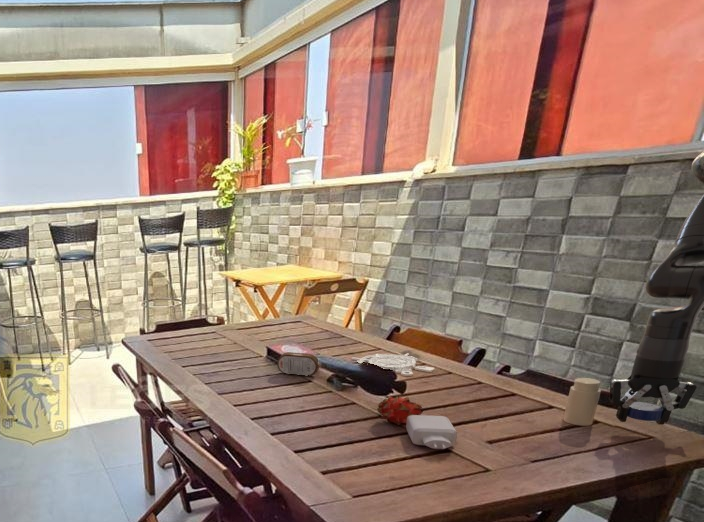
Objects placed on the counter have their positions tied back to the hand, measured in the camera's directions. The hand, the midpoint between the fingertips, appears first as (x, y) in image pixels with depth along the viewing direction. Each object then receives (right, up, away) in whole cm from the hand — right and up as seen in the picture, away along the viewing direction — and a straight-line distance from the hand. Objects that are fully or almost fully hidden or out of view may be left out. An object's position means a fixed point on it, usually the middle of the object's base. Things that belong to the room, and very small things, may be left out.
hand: (640, 421), depth 118 cm
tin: (-56, +15, +67) cm, 89 cm away
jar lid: (0, +3, -1) cm, 4 cm away
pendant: (-21, +19, +66) cm, 72 cm away
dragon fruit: (-46, -1, +20) cm, 51 cm away
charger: (-46, -6, +6) cm, 47 cm away
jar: (-6, 0, +9) cm, 11 cm away
